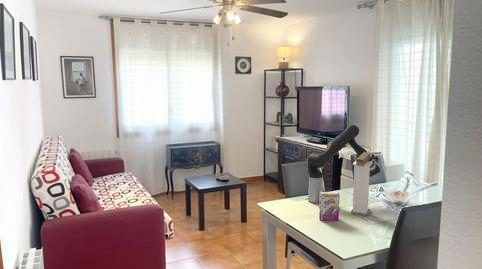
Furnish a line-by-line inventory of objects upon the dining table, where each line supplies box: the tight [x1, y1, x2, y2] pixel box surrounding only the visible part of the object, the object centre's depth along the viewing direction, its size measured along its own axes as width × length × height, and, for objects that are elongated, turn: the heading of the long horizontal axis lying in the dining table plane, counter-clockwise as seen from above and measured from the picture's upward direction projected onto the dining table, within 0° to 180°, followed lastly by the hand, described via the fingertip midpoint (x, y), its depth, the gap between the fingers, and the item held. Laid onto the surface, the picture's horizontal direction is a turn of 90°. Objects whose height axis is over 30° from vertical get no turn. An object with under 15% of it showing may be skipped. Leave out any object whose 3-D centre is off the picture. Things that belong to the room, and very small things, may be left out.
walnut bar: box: [355, 151, 371, 166], centre depth 225 cm, size 24×4×4 cm, turn 151°
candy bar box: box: [318, 191, 341, 222], centre depth 216 cm, size 11×5×16 cm, turn 84°
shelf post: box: [350, 160, 373, 217], centre depth 226 cm, size 10×10×32 cm
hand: (365, 155), depth 232 cm, fingers open, 7 cm apart
